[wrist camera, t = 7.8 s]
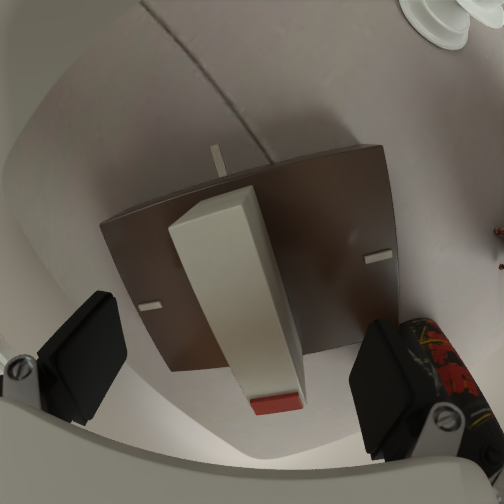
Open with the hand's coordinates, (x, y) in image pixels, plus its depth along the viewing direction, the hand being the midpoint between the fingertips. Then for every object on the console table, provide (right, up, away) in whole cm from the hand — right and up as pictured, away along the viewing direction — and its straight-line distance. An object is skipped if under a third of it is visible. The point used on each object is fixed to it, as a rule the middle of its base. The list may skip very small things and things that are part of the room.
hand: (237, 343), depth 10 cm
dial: (+1, +2, +4) cm, 4 cm away
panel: (+1, +3, +6) cm, 7 cm away
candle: (+12, +18, 0) cm, 22 cm away
